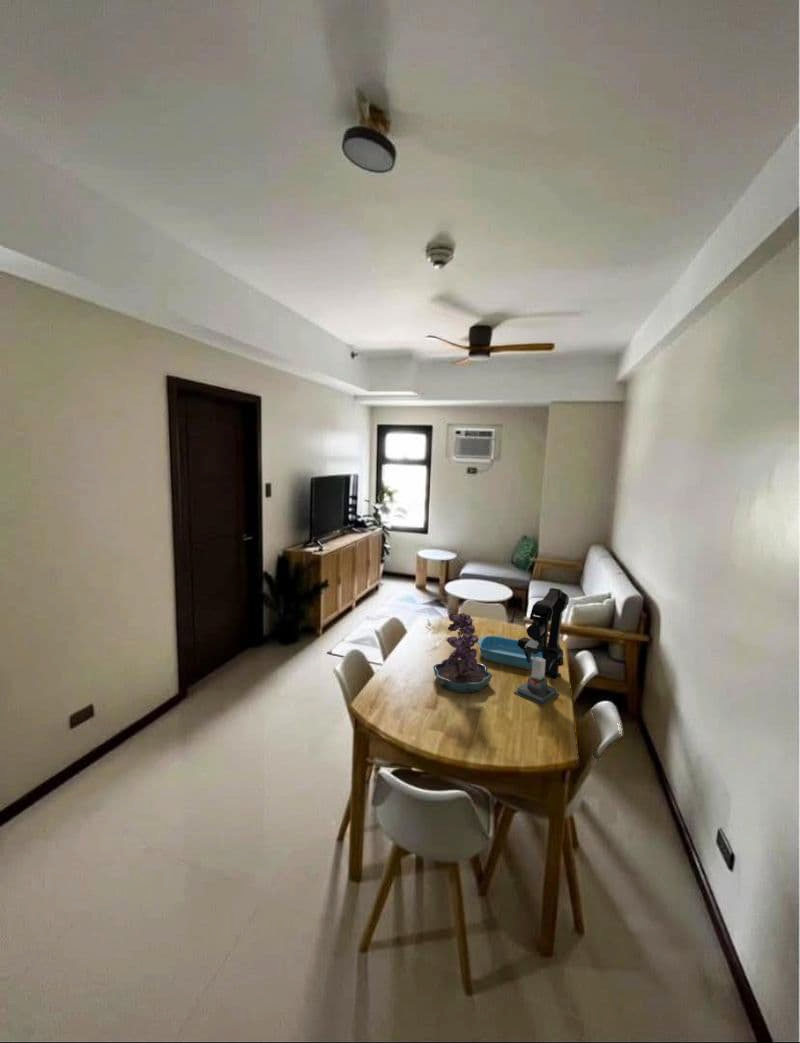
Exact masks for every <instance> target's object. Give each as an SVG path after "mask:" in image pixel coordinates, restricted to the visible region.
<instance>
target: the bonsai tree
mask: <svg viewBox="0 0 800 1043" xmlns="http://www.w3.org/2000/svg"><path fill="white" fill-rule="evenodd" d="M448 619H449V621H450V622H452V623H450V624H449V626H447V630H448V631H450V632H451V633H453V632H456V631H457V636H448V637H447V638H446V642H447V643H448V644H449V645H450V646H451V647H452V648H454V650H453V651H451V652H450V655H448V658H446V659H445V658H444V659H443V660H441V662H440V663H436V664H434V665H433V666H432V668H433V671H434V675H435V678H436V680H437V682H438V684H439V685H441V686H442V687H444V688H446V689H447V690H449V691H453V692H457V693H475V692H478V691H480V690H482V689H483V688H484V687H485V686H486V685H488V684H490V682H491V680H492V677H493V675H492V673H491V672H489V671H488V667H487V665H486V664H484V663H483V664H482V663H480V662H478V659H477V658H476V657H477V653H478V650H477V649H476V648H474V647H475V644H478V643H477V642H478V640H479V637H478V635H476V634H474V633H475V632H476V631H475V630H476V627H475V625H473V622H474V619H473V618H472V617H471V615H470V614H466V613H465V612H460V613H459V614H456V615H453V614H452V613H449V614H448Z"/></svg>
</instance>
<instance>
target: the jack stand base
mask: <svg viewBox="0 0 800 1043" xmlns="http://www.w3.org/2000/svg"><path fill="white" fill-rule="evenodd" d="M513 694H515V695H517V696H520V697H522V698H525V699H527V700H529V701H531V702H534V703H536V704H538V705H541V706H547V705H548V704H549V703H550V702H552V701H553V700H554V699H555V698H556V697H558V696H559V695H560V692H557V688H555V687H553V686H551V685H548V678H547V677H545V678H544V680H543V681H541V682H538V681H536V680H533V679H531V676H529V677H528V678H527V681H526V682H524V683H522V684H521V685H520V686H518V687H517V689H516V690H515V691H514V692H513Z"/></svg>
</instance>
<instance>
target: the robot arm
mask: <svg viewBox="0 0 800 1043" xmlns="http://www.w3.org/2000/svg"><path fill="white" fill-rule="evenodd" d="M569 602H570V597H569V595H568V594H566V593H565V592H563V590H562V589H561V588H555V587H551V588H550V587H549V590H548V592H547V593H546V594H545V596H544V597H543V598H542V599H541V600H536V602H535V603H534V604H533V605H532V608H531V612H530V616H529V620H530V621H532V622H531V624H530V625H529V626H528V627H527V629H526V634H527V636H528V637H526V636H524V637H522V638H519V639H517V640H518V642H517V646H519V647H520V648H521V649H522V650H523V651H524V652H525V655H526V658H527V662H528V663H530V660H531V653H533V654H537V653H538V652H542V658H543V659H545V660H546V661H545V675H544V676H545V677H548V678H551V679H557V678H559V677H560V676H561V675H562V674H561V672H559V669H560V668H559V667H561V666H564V650H563V649H562V648H561V645H560V637H561V625H562V618H563V613H564V611H565V610H566V609H567V606H568V605H569ZM549 623H550V627H549Z"/></svg>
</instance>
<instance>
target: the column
mask: <svg viewBox="0 0 800 1043" xmlns="http://www.w3.org/2000/svg"><path fill="white" fill-rule="evenodd" d="M545 661H546V660H545V659H543V658H540V657H535V658H534V659H532V669H531V673H530V674H531V675H530V677H531V679H533V680H536V681H538V682H541V681H543V680H544V678H546V675H545V671H546V662H545Z"/></svg>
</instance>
